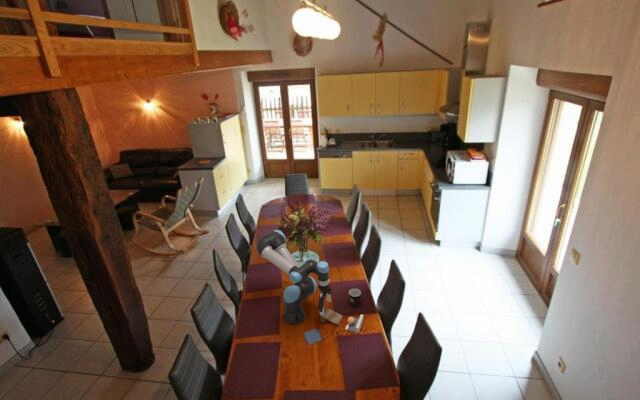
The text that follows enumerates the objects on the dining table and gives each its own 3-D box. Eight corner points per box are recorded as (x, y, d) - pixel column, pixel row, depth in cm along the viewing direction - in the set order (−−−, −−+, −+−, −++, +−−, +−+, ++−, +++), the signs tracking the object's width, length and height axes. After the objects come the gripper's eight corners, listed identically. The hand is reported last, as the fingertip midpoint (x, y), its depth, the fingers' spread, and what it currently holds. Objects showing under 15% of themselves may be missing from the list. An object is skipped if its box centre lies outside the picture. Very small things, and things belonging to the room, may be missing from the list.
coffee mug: (347, 301, 248) (346, 290, 244) (357, 298, 251) (357, 287, 247) (354, 311, 238) (353, 300, 234) (364, 308, 241) (364, 297, 237)
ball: (344, 321, 226) (350, 327, 226) (349, 319, 223) (355, 324, 224) (347, 316, 230) (352, 322, 230) (352, 314, 228) (357, 319, 228)
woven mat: (302, 335, 222) (302, 332, 221) (317, 329, 226) (317, 327, 225) (307, 346, 213) (307, 344, 212) (323, 340, 217) (322, 338, 216)
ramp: (320, 321, 232) (320, 315, 229) (325, 312, 239) (324, 306, 237) (338, 325, 227) (338, 319, 225) (342, 316, 234) (342, 310, 232)
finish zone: (345, 329, 223) (345, 325, 222) (350, 316, 234) (350, 312, 233) (358, 333, 220) (358, 328, 218) (363, 319, 231) (363, 314, 229)
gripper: (322, 296, 210) (324, 322, 219) (335, 273, 231) (336, 297, 240) (311, 293, 213) (313, 319, 222) (325, 271, 234) (326, 295, 243)
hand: (325, 308), depth 231 cm, fingers open, 13 cm apart
